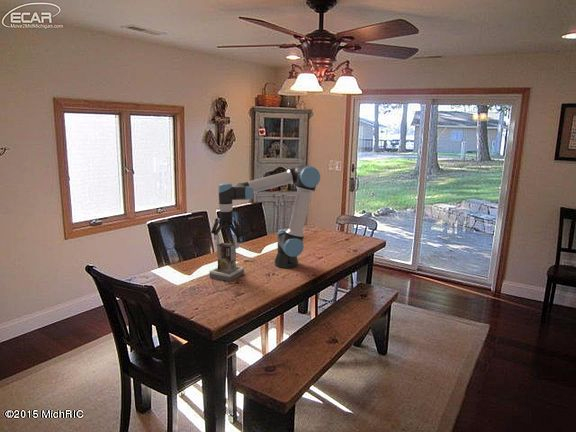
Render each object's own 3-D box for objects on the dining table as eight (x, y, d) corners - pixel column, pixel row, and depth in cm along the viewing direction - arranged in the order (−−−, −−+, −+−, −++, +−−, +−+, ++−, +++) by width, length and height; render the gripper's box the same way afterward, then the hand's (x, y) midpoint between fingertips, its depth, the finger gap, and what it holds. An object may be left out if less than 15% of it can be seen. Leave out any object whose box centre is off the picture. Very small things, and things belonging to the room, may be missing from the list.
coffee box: (236, 270, 244) (236, 243, 241) (231, 273, 238) (230, 246, 235) (222, 268, 247) (222, 242, 244) (217, 271, 241) (216, 245, 238)
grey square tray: (244, 273, 247) (244, 267, 246) (230, 281, 233) (229, 275, 233) (224, 269, 252) (224, 263, 252) (209, 277, 239) (209, 271, 238)
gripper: (248, 211, 233) (249, 247, 237) (211, 207, 244) (213, 242, 248) (241, 213, 227) (242, 250, 231) (204, 210, 237) (205, 245, 241)
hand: (227, 246), depth 240 cm, fingers open, 13 cm apart
